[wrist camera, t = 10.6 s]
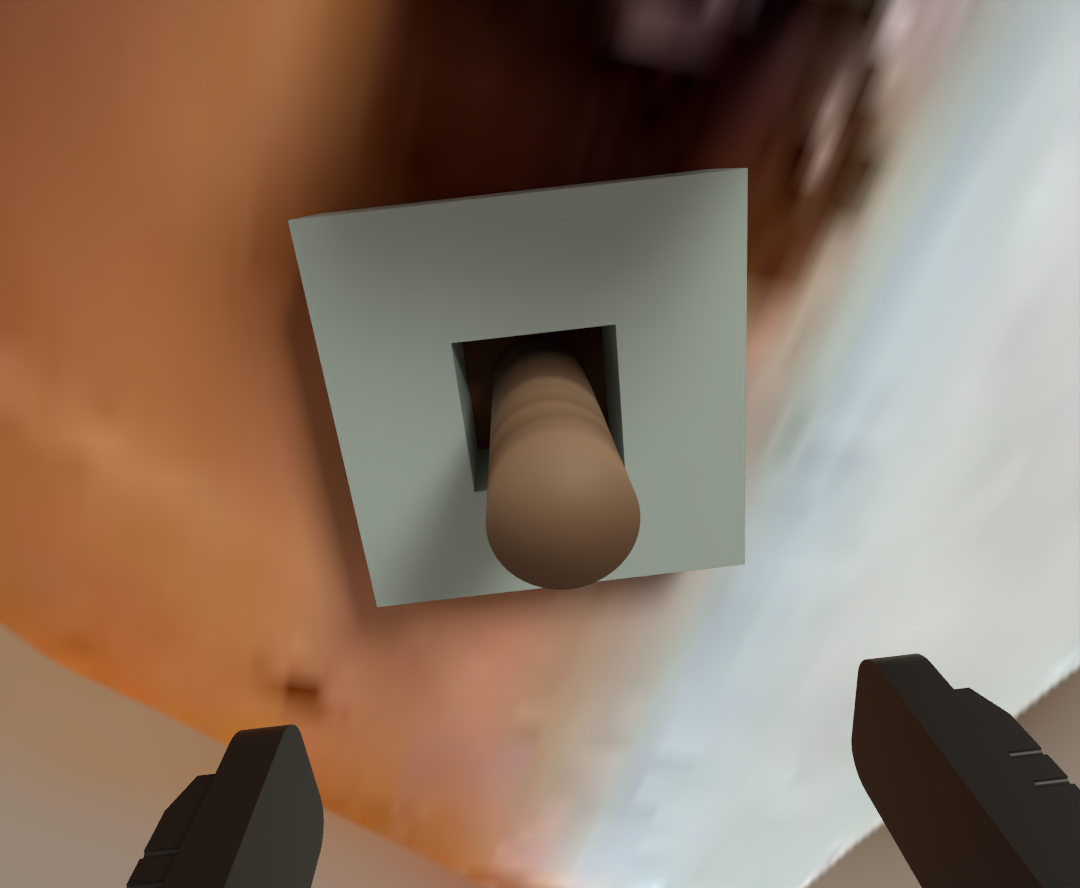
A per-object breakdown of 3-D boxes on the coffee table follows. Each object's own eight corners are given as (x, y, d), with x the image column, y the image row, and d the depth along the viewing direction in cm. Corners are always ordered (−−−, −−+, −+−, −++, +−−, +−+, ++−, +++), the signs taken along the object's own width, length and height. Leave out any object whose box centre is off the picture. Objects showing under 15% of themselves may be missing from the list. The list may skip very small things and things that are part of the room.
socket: (320, 213, 24) (288, 220, 21) (710, 169, 24) (747, 168, 21) (393, 552, 30) (377, 607, 26) (714, 515, 30) (744, 564, 26)
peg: (487, 340, 26) (475, 461, 15) (580, 329, 26) (636, 442, 15) (499, 427, 28) (496, 597, 16) (587, 417, 28) (644, 580, 17)
